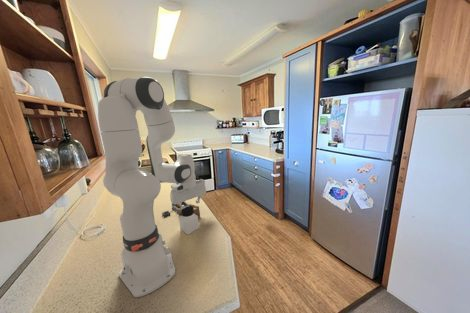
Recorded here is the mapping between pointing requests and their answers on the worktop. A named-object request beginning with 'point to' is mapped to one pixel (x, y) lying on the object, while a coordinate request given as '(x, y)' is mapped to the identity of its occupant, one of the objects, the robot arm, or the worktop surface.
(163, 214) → the square nut
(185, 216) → the medicine bottle
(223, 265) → the worktop surface
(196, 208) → the launch ramp
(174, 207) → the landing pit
